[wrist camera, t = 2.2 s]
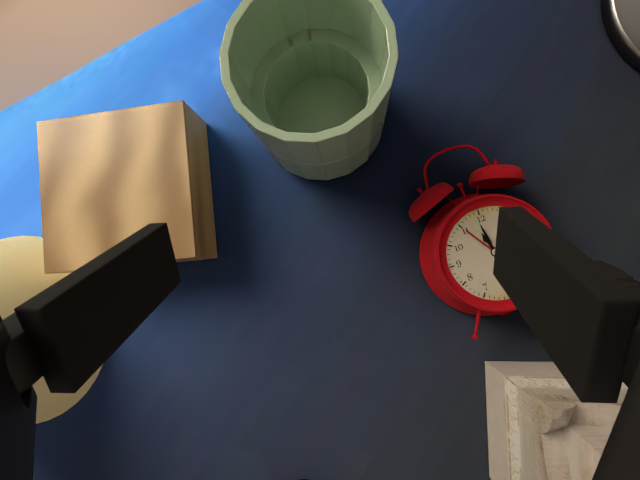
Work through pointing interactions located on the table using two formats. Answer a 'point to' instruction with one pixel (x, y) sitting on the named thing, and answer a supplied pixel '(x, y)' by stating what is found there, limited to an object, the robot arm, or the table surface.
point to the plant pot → (311, 79)
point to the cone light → (16, 288)
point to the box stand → (124, 182)
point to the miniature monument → (542, 424)
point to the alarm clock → (467, 239)
